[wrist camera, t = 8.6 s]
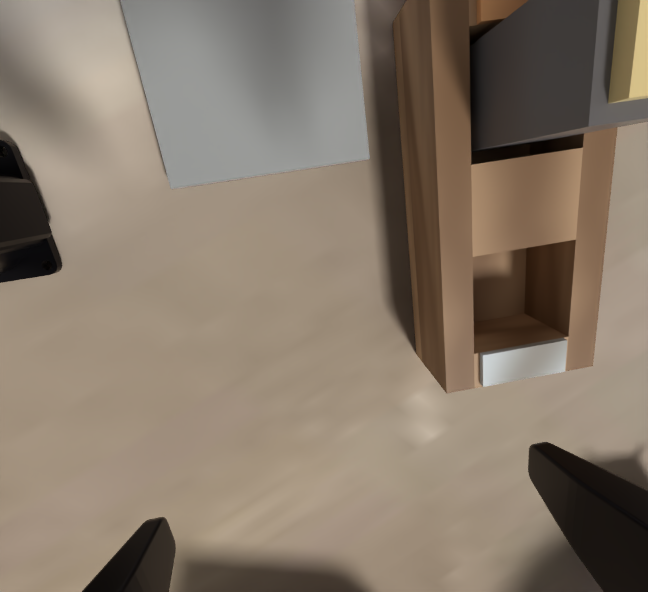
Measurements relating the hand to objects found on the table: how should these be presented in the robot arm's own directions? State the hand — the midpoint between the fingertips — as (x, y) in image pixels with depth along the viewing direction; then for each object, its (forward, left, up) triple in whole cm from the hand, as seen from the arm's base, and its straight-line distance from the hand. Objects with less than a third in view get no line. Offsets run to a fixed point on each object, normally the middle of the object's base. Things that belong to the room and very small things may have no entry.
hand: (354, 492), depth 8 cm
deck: (-1, +13, -13) cm, 18 cm away
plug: (+10, +10, -12) cm, 18 cm away
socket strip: (+10, +5, -13) cm, 17 cm away
